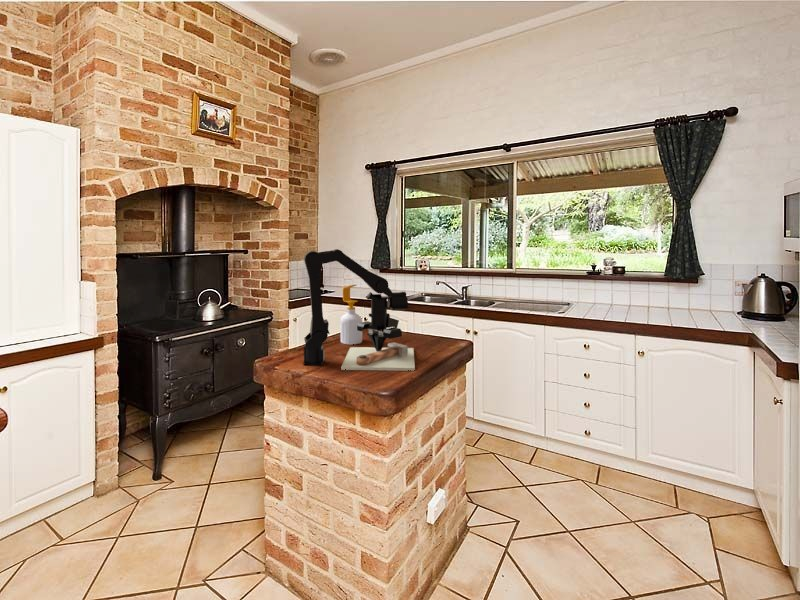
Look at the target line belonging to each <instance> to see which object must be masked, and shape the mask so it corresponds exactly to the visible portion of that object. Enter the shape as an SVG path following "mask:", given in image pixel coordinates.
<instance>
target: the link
mask: <svg viewBox="0 0 800 600" xmlns="http://www.w3.org/2000/svg"><path fill="white" fill-rule="evenodd" d="M387 348H388V349H384V350H381V351H377V352H374V353H370V354H367V355H360V356H358V357H357V364H359V365H366V364H369V363H371V362H374V361H377V360H380V359H384V358H387V357H390V356H393V355H397V354H399V349H396V348H393V347H387Z"/></svg>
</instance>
